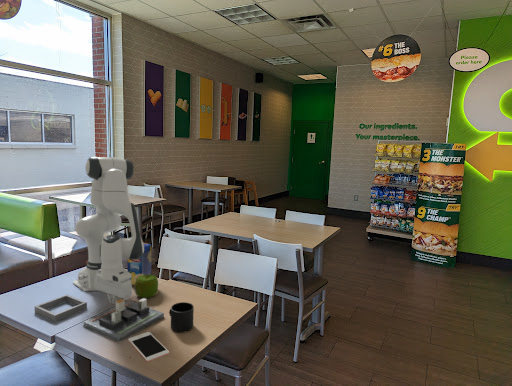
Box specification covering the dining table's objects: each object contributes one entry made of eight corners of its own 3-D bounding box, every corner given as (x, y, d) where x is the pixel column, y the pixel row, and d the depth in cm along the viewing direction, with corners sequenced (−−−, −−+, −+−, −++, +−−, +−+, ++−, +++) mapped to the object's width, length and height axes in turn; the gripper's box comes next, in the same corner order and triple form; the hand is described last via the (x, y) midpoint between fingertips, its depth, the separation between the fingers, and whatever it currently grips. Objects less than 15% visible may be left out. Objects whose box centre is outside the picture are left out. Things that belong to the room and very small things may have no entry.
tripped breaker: (115, 311, 152) (115, 301, 151) (121, 308, 154) (121, 298, 154) (118, 312, 151) (118, 302, 150) (124, 309, 154) (124, 299, 153)
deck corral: (34, 312, 156) (34, 306, 155) (66, 300, 169) (66, 294, 168) (55, 322, 149) (54, 315, 148) (87, 308, 162) (86, 302, 161)
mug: (176, 317, 157) (177, 298, 156) (197, 325, 151) (198, 305, 150) (161, 326, 149) (161, 306, 148) (182, 335, 143) (183, 314, 142)
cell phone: (149, 333, 144) (149, 331, 144) (169, 354, 131) (169, 351, 131) (127, 340, 138) (127, 338, 138) (147, 363, 125) (147, 360, 125)
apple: (151, 289, 186) (151, 269, 185) (162, 295, 179) (162, 275, 177) (131, 294, 178) (131, 274, 177) (141, 302, 171) (141, 280, 169)
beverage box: (137, 278, 199) (136, 241, 196) (151, 283, 194) (151, 244, 191) (127, 282, 193) (127, 244, 190) (141, 287, 188) (141, 247, 185)
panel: (83, 326, 147) (83, 308, 146) (129, 304, 167) (129, 288, 166) (119, 342, 136) (119, 323, 135) (163, 317, 157) (164, 300, 156)
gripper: (90, 270, 155) (91, 299, 157) (122, 279, 146) (123, 311, 148) (102, 266, 161) (103, 294, 163) (134, 275, 151) (134, 305, 153)
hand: (112, 302), depth 155 cm, fingers closed
